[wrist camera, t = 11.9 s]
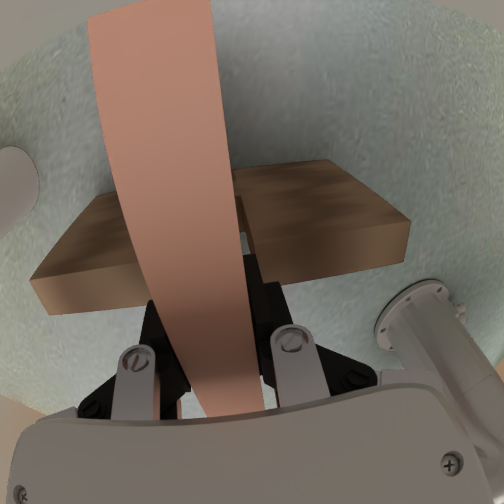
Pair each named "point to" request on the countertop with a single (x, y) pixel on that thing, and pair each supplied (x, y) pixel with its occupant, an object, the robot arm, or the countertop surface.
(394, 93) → the countertop surface
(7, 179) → the cylindrical container
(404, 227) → the walnut slotted plate
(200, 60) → the terracotta slotted plate
